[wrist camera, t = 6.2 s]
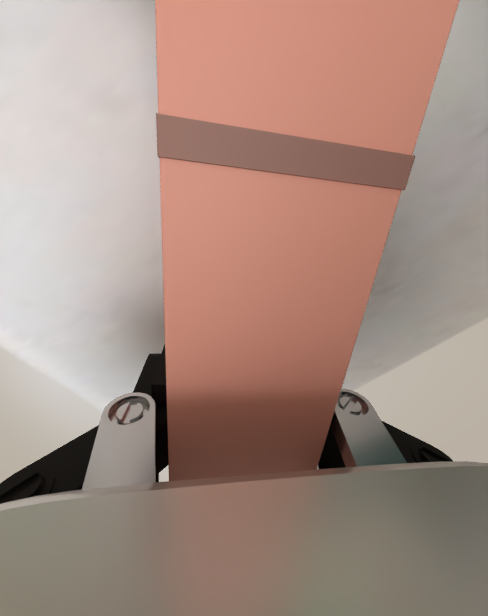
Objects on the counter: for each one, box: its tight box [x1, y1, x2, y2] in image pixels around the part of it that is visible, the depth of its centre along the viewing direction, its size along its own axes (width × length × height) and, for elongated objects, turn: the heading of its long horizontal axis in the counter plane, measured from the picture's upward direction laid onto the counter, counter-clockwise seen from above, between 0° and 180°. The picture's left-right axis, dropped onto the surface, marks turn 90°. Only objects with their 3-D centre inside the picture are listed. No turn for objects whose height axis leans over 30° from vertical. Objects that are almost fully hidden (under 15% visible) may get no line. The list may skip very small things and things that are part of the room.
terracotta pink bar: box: [155, 0, 459, 481], centre depth 7 cm, size 4×16×6 cm, turn 175°
